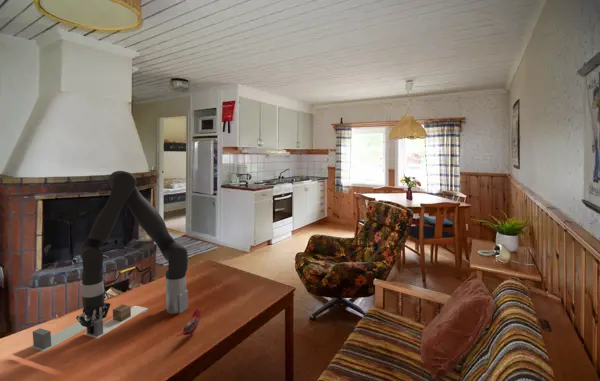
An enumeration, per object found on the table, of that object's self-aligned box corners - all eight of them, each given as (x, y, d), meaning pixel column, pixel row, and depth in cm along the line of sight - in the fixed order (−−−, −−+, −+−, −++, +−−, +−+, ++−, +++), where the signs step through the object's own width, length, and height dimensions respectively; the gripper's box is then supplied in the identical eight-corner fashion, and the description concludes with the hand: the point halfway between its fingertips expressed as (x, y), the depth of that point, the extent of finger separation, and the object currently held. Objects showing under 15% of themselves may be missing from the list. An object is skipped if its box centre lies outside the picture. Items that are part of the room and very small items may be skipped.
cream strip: (147, 310, 147) (147, 296, 147) (97, 340, 123) (97, 324, 122) (135, 307, 150) (134, 294, 149) (83, 336, 125) (82, 320, 124)
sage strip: (106, 319, 138) (106, 304, 138) (44, 353, 114) (42, 336, 113) (93, 315, 141) (93, 301, 140) (29, 349, 116) (28, 332, 115)
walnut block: (130, 316, 140) (130, 306, 139) (121, 321, 135) (121, 311, 134) (122, 314, 141) (122, 304, 141) (113, 319, 136) (112, 309, 136)
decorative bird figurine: (203, 327, 135) (203, 306, 134) (179, 351, 118) (179, 327, 117) (198, 326, 136) (197, 305, 135) (173, 350, 119) (172, 326, 117)
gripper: (83, 301, 116) (85, 343, 118) (115, 287, 129) (116, 324, 131) (69, 298, 118) (71, 339, 120) (102, 284, 131) (103, 321, 133)
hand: (95, 331), depth 126 cm, fingers closed on cream strip, 2 cm apart
